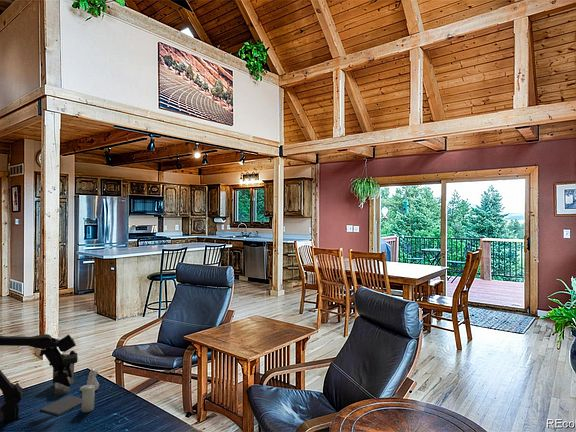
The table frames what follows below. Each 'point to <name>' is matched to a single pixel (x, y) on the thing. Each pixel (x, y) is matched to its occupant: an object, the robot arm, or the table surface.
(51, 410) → the mat
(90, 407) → the light bulb
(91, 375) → the sitting furry creature
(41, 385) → the table surface
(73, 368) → the coffee box
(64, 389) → the tin
